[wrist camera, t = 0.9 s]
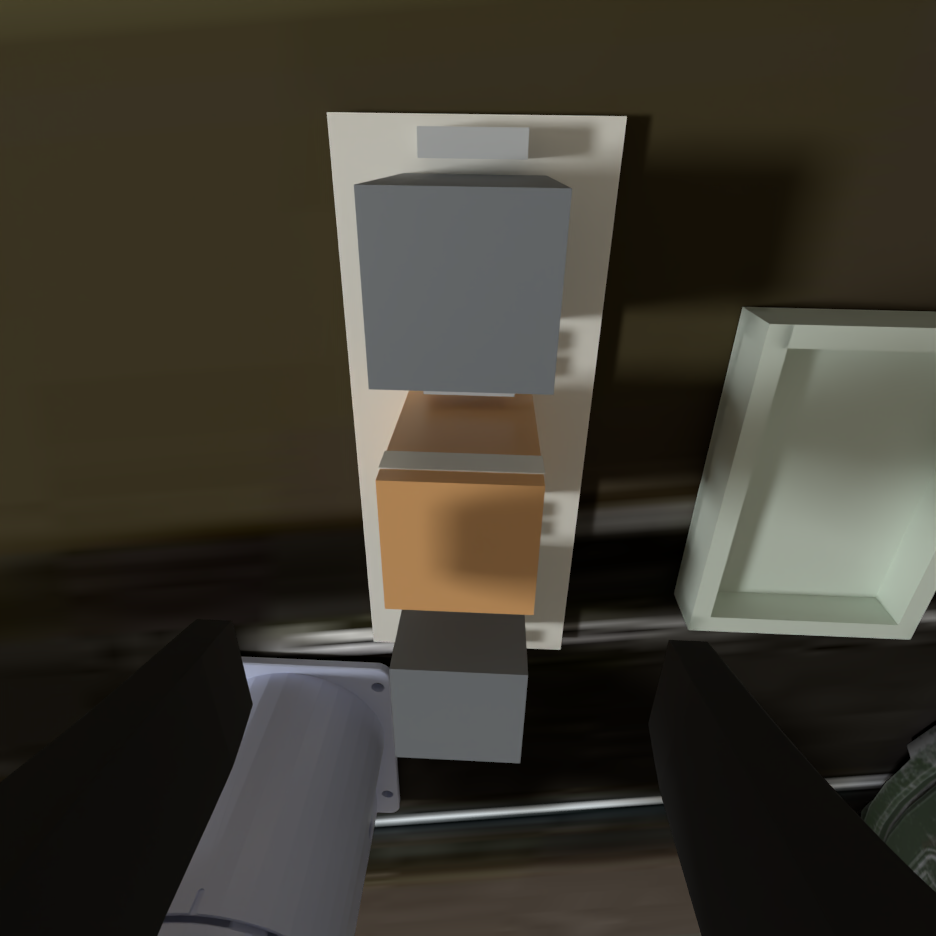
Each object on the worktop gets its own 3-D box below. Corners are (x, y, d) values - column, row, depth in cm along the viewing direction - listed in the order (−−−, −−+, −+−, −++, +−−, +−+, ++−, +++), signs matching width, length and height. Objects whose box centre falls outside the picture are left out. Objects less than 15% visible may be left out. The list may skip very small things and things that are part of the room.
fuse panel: (558, 637, 22) (578, 793, 17) (376, 629, 22) (338, 781, 17) (622, 117, 14) (699, 96, 9) (333, 113, 14) (232, 90, 9)
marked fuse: (524, 494, 18) (535, 616, 14) (413, 490, 18) (383, 609, 14) (532, 388, 17) (546, 485, 12) (409, 384, 17) (374, 479, 12)
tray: (878, 601, 21) (909, 639, 19) (673, 593, 21) (688, 630, 19) (1013, 313, 16) (1071, 331, 14) (742, 306, 16) (769, 323, 14)
